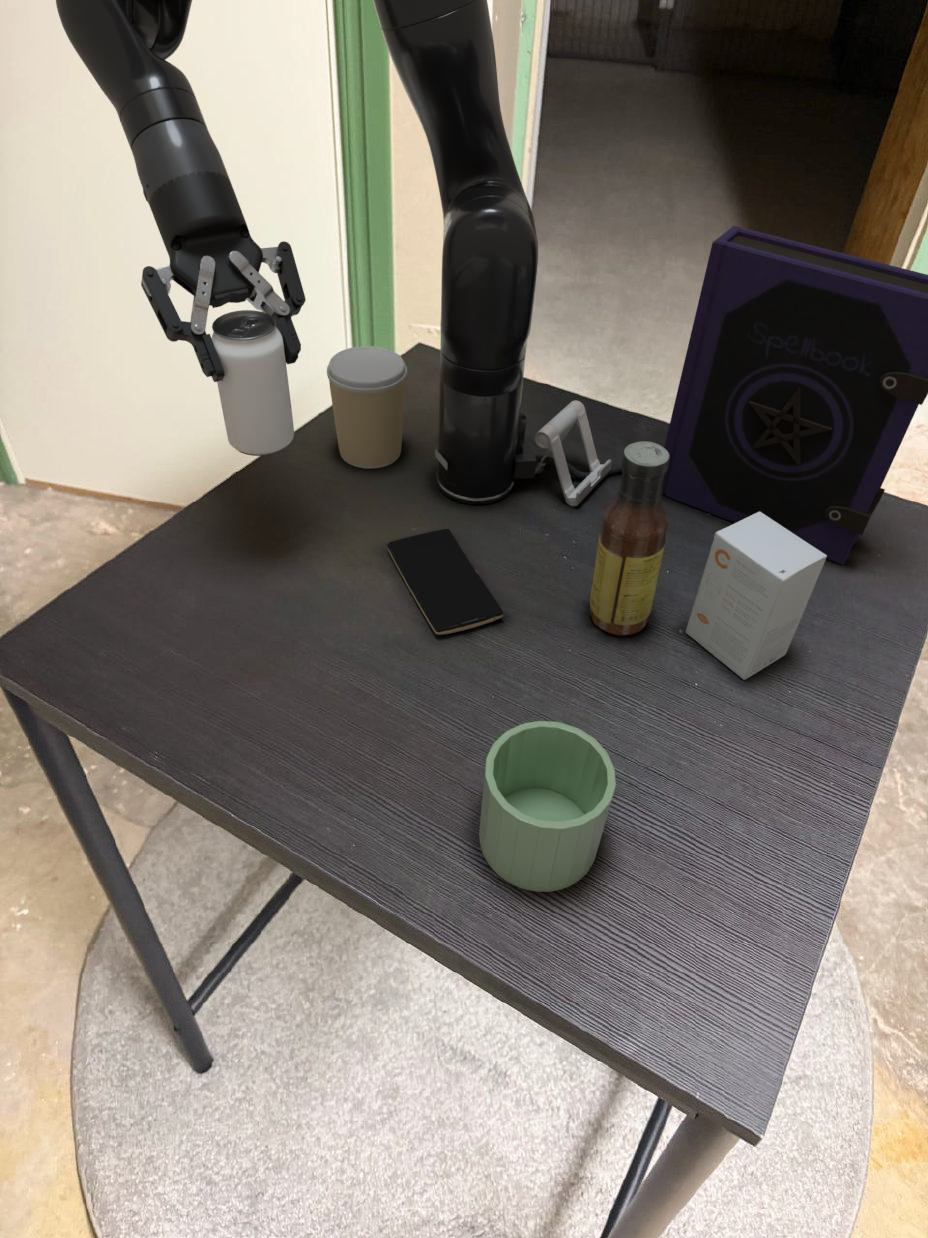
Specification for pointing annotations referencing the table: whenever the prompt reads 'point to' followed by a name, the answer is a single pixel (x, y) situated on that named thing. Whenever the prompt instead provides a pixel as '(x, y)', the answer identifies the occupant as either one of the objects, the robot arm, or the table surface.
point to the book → (797, 386)
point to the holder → (544, 805)
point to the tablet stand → (552, 440)
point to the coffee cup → (368, 404)
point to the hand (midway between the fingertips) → (257, 369)
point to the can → (253, 382)
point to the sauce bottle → (631, 543)
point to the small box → (753, 593)
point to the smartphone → (444, 582)
